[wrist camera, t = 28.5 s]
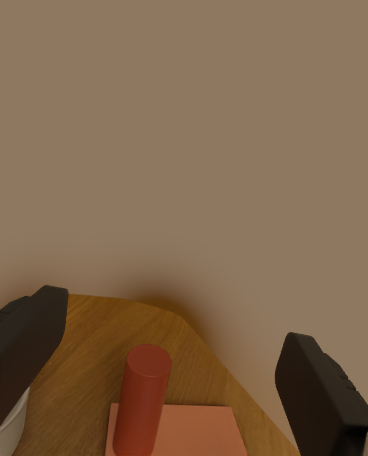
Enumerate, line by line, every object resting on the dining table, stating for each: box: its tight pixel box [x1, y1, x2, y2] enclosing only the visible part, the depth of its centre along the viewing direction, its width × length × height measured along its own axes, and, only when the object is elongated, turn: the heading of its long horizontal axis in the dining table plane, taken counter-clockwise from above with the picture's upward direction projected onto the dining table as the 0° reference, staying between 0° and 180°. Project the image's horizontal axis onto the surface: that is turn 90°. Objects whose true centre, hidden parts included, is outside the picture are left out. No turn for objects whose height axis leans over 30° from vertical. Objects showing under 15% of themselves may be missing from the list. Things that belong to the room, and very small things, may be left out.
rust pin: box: [112, 344, 172, 456], centre depth 30 cm, size 5×5×11 cm
